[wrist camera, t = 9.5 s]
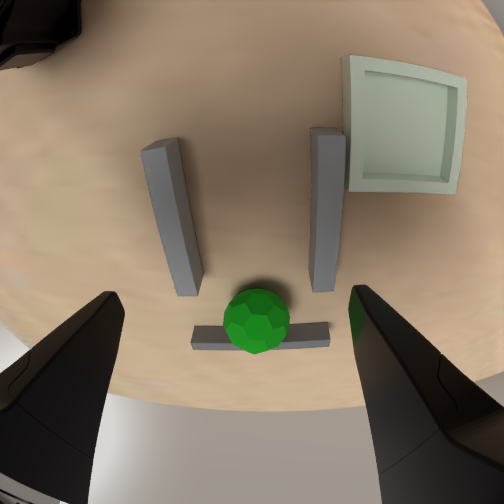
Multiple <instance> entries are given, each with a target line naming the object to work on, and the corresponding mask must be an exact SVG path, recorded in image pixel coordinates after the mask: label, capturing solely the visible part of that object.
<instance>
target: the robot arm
mask: <svg viewBox="0 0 504 504" xmlns="http://www.w3.org/2000/svg"><path fill="white" fill-rule="evenodd" d="M74 30H75V33H74V34H72V33H73V31H74ZM80 33H81V8H80V0H0V70H5V69H10V68H22V67H24V66H30V65H33V64H34V63H36V62H38V61H39V60H41V59H43V58H45V57H47V56H48V55H50V54H52V53H54V51H55V50H56V48H57V47H59V46H61V45H63V44H65V43H67V42H69V41H71V40H73V39H75V38H77V37H78V36H79V35H80ZM348 311H349V318H350V325H351V332H352V340H353V348H354V355H355V360H356V364H357V368H358V372H359V377H360V381H361V385H362V390H363V394H364V399H365V404H366V408H367V413H368V417H369V423H370V428H371V434H372V439H373V445H374V450H375V456H376V463H377V469H378V474H379V483H380V491H381V499H382V504H504V407H503V406H502V405H500V404H499V403H498V402H497V401H496V400H494V399H493V398H492V397H491V396H489V395H488V394H487V393H486V392H485V391H483V390H482V389H481V388H480V387H479V386H477V385H476V384H475V383H474V382H473V381H471V380H470V379H469V378H468V377H467V376H466V375H464V374H463V373H462V372H461V371H460V370H459V369H458V368H457V367H456V366H455V365H453V364H452V363H451V362H450V361H449V360H448V359H447V358H446V357H445V356H444V355H443V354H441V352H440V351H439V350H438V349H437V348H436V347H435V346H433V345H432V344H431V343H430V342H429V341H428V340H427V339H426V338H425V337H424V336H423V335H422V334H421V333H420V332H419V331H418V330H416V329H415V328H414V327H413V326H412V325H411V324H410V323H409V322H408V321H407V320H406V319H404V318H403V317H402V316H401V315H400V314H399V313H398V312H397V311H396V310H394V309H393V308H392V307H391V306H390V305H389V304H388V303H387V302H386V301H384V300H383V299H382V298H381V297H380V296H379V295H378V294H376V293H375V292H374V291H373V290H372V289H371V288H370V287H368V286H367V285H354V286H353V287H352V290H351V296H350V301H349V307H348ZM124 317H125V311H124V308H123V305H122V303H121V301H120V299H119V297H118V295H117V293H116V292H114V291H104V292H103V293H101V294H100V295H99V296H97V297H96V298H95V299H93V300H92V301H91V302H89V303H88V304H87V305H85V306H84V307H83V308H81V309H80V310H79V311H77V312H76V313H75V314H74V315H72V316H71V317H70V318H68V319H67V320H66V321H65V322H63V323H62V324H61V325H60V326H58V327H57V328H56V329H55V330H53V331H52V332H51V333H50V334H48V335H47V336H46V337H45V338H43V339H42V340H41V341H40V342H39V343H37V344H36V345H35V346H34V347H33V348H32V350H31V349H30V350H29V351H28V352H26V353H25V354H24V355H23V356H22V357H21V358H19V359H18V360H17V361H16V362H14V363H13V364H12V365H11V366H9V367H8V368H7V369H5V370H4V371H3V372H1V373H0V504H59V503H60V501H63V502H66V503H68V504H88V495H89V487H90V480H91V472H92V466H93V459H94V453H95V447H96V442H97V437H98V432H99V427H100V422H101V417H102V412H103V408H104V404H105V400H106V395H107V391H108V387H109V383H110V380H111V376H112V372H113V368H114V365H115V361H116V357H117V353H118V348H119V343H120V337H121V332H122V327H123V322H124Z"/></svg>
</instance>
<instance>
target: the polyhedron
mask: <svg viewBox="0 0 504 504" xmlns="http://www.w3.org/2000/svg"><path fill="white" fill-rule="evenodd" d="M289 323H290V316H289V312H288V308H287V306H286V305H285V303H284V302H283V300H282V299H281V298H280V297H279V296H277V295H276V294H274V293H273V292H272V291H268V290H265V289H261V288H257V289H248V290H246V291H243V292H241V293H239V294H237V295H236V296H235V297H234V298H233V299H232V301H231V302H230V303H229V304H228V306H227V308H226V310H225V312H224V321H223V326H224V328H225V330H226V332H227V334H228V336H229V338H230V340H231V342H232V344H233V345H235V346H237V347H239V348H241V349H242V350H245V351H247V352H250V353H252V354H257V353H261V352H265V351H268V350H271V349H274V348H276V347H278V346H279V344H280V343H281V342H282V340H283V339H284V338H285V336H286V335H287V333H288V331H289Z"/></svg>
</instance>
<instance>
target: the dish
mask: <svg viewBox="0 0 504 504" xmlns="http://www.w3.org/2000/svg"><path fill="white" fill-rule="evenodd" d="M341 66H342V92H343V134H344V135H345V136H346V151H345V177H344V186H345V187H346V189H347V190H348V192H407V193H435V194H455V193H456V188H457V183H458V177H459V171H460V165H461V158H462V150H463V142H464V133H465V121H466V105H467V78H464V77H460V76H457V75H454V74H450V73H447V72H443V71H439V70H435V69H431V68H427V67H423V66H418V65H413V64H409V63H403V62H398V61H392V60H386V59H379V58H372V57H364V56H354V55H348V56H344V57H341Z"/></svg>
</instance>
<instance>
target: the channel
mask: <svg viewBox="0 0 504 504" xmlns="http://www.w3.org/2000/svg"><path fill="white" fill-rule="evenodd" d="M310 130H311V217H310V249H309V275H310V280H311V286H312V291H313V292H330V291H334V287H335V279H336V271H337V263H338V254H339V244H340V234H341V222H342V210H343V195H344V177H345V151H346V136H345V135H344V134H343V133H341V132H340V131H338V130H337V129H336V128H310ZM141 156H142V161H143V166H144V170H145V175H146V180H147V184H148V189H149V193H150V197H151V201H152V206H153V210H154V214H155V218H156V222H157V226H158V229H159V233H160V237H161V241H162V244H163V248H164V252H165V255H166V259H167V262H168V266H169V269H170V272H171V276H172V279H173V282H174V286H175V289H176V292H177V295H178V296H198V293H199V290H200V286H201V282H202V278H203V275H204V274H203V269H202V265H201V260H200V255H199V251H198V246H197V241H196V236H195V231H194V226H193V221H192V216H191V211H190V205H189V200H188V195H187V189H186V183H185V178H184V172H183V166H182V160H181V154H180V148H179V141H178V138H172V139H166V140H160V141H155V142H154V143H152V144H151V145H149V146H148V147H146V148H145V149H143V150H142V151H141ZM191 345H192V348H193V350H242V349H241V348H239V347H237V346H235V345H233V344H232V342H231V340H230V338H229V336H228V334H227V332H226V330H225V328H224V326H194V331H193V335H192V339H191ZM329 345H330V334H329V329H328V324H327V322H325V323H309V324H291V325H289V331H288V333H287V335H286V336H285V338H284V339H283V340H282V342H281V343H280V344H279V346H278V347H276V348H274V349H271V350H279V349H300V348H316V347H329Z"/></svg>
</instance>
